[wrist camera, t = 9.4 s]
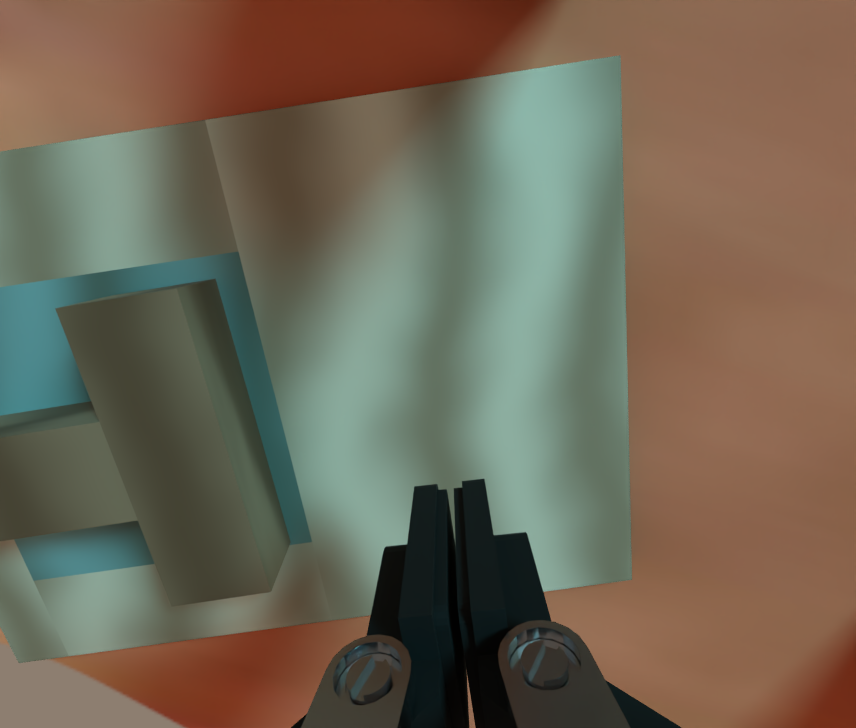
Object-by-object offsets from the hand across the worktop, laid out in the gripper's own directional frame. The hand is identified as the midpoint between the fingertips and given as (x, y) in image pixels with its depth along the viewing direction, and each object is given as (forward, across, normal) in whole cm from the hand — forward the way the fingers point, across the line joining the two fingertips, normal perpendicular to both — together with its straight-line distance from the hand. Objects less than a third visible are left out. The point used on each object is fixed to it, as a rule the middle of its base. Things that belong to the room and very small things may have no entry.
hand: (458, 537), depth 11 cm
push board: (+9, +8, -1) cm, 12 cm away
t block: (+8, +14, 0) cm, 16 cm away
